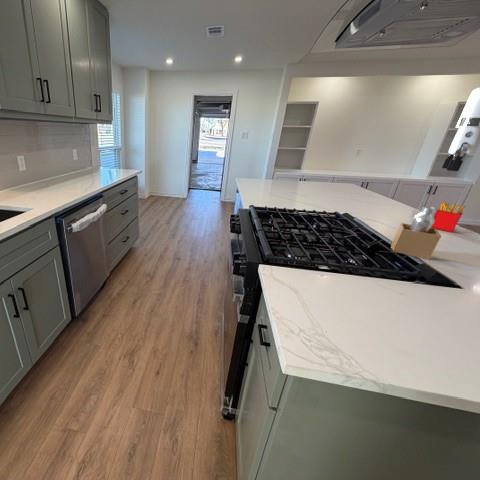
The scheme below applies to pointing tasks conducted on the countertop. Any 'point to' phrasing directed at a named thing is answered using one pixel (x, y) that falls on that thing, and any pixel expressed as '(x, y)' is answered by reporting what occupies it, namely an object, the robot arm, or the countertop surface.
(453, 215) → the french fries container
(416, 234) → the bottle box
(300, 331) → the countertop surface
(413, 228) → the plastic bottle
